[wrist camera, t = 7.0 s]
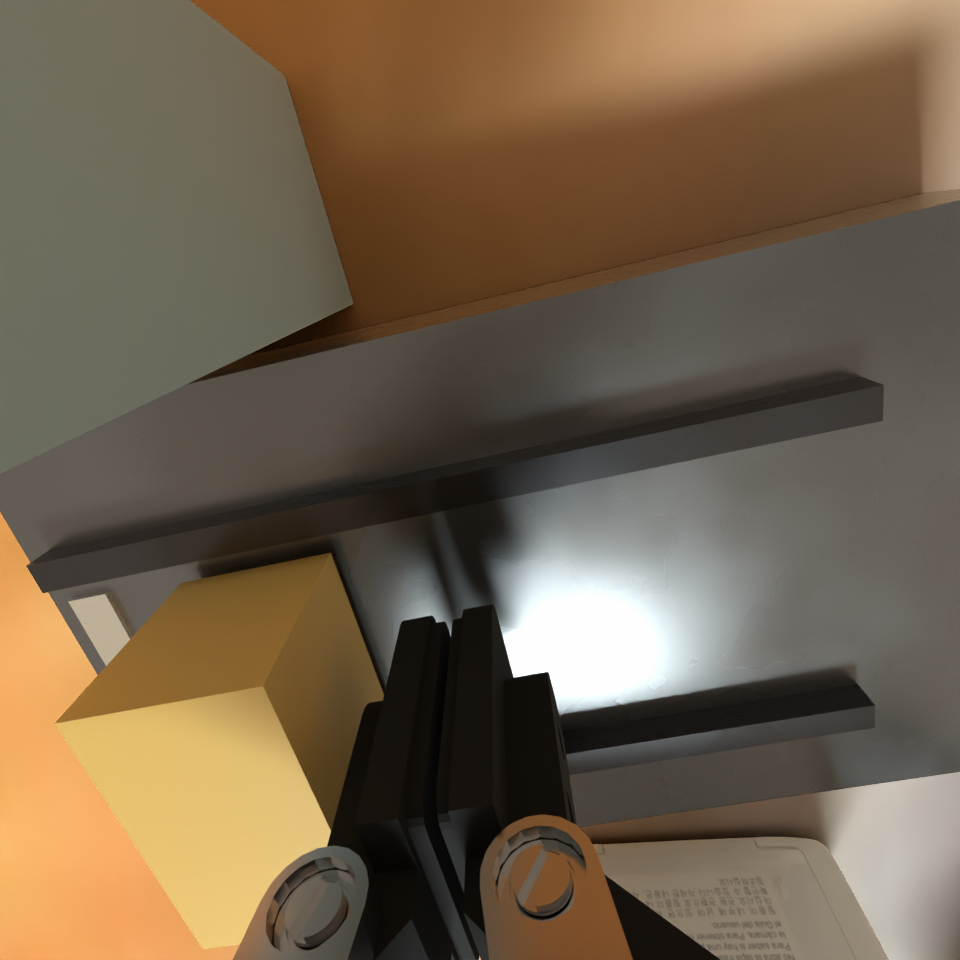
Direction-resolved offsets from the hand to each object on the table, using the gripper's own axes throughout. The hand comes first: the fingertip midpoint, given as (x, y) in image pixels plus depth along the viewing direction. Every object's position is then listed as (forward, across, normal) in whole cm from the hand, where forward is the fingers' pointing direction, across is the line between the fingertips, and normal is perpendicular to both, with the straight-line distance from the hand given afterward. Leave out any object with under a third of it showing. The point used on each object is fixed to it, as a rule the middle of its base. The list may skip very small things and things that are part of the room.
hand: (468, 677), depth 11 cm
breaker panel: (+4, -1, 0) cm, 4 cm away
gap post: (+4, +3, -8) cm, 10 cm away
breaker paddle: (+1, +4, 0) cm, 4 cm away
